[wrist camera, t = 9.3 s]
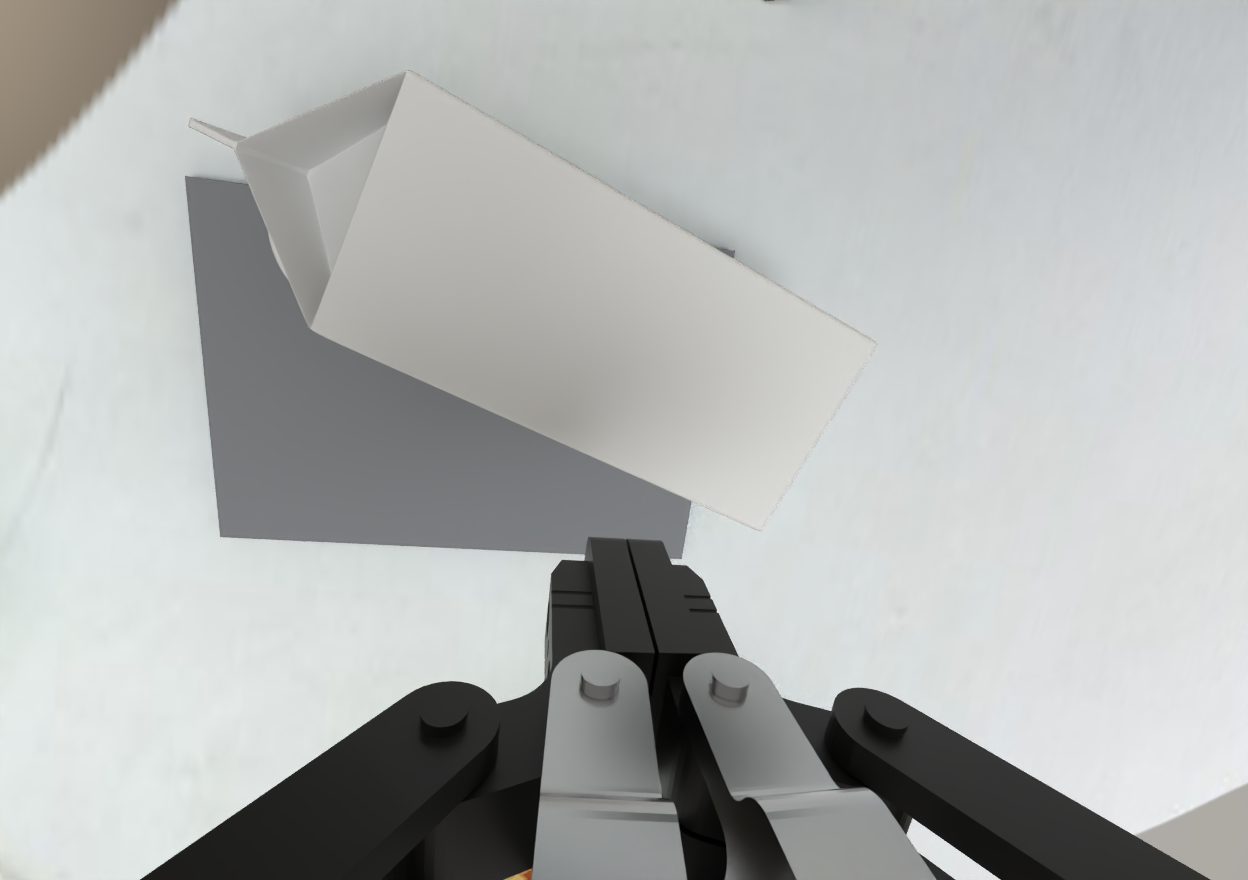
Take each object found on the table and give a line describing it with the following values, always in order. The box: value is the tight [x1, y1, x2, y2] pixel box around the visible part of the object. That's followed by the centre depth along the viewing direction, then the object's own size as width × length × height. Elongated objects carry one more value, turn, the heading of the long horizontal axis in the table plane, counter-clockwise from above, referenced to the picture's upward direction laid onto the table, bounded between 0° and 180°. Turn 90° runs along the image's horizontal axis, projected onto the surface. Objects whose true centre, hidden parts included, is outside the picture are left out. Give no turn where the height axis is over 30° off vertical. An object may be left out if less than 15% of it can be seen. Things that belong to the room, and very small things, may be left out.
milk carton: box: [188, 70, 877, 531], centre depth 19 cm, size 7×7×19 cm
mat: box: [185, 176, 735, 559], centre depth 24 cm, size 14×20×1 cm
